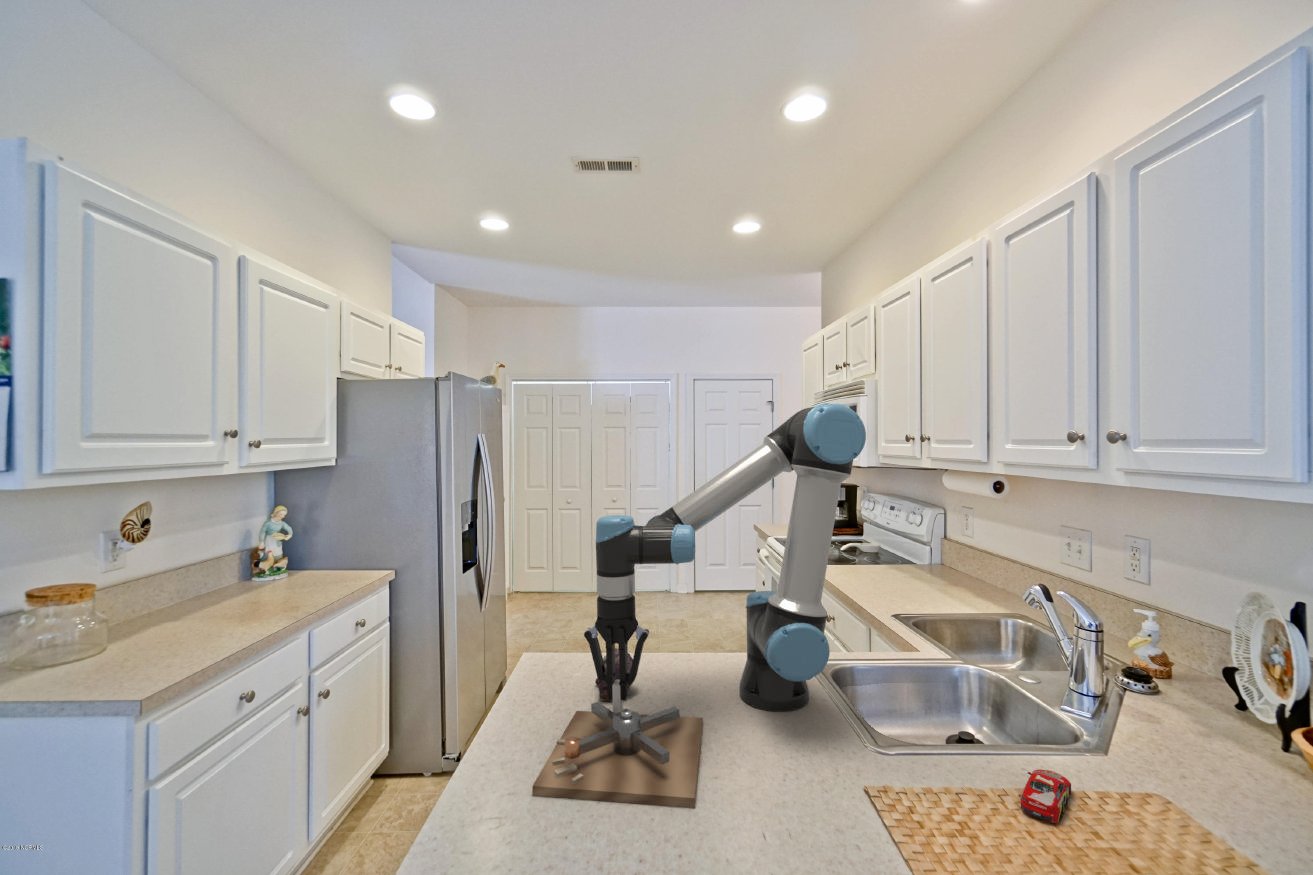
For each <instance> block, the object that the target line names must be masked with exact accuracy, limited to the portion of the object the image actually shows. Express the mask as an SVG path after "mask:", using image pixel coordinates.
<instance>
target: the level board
mask: <svg viewBox="0 0 1313 875" xmlns="http://www.w3.org/2000/svg"><path fill="white" fill-rule="evenodd" d="M639 714H640V716H641V718H643V717H646V716H649V715H650V714H641V713H639ZM703 728H704V717H693V716H680V718H678V719H675V720H673V721H670V722H667V723H665V724H662V725H659V726H656V727H654V728H651V729H648V730H646V731H643V732H642V733H644V734H645V735H646V736H648V737H649V738H651V739H652V740H653V741H655V742H656V743H658V744H659V745H661V746H662V747H663V748H665V749H666V750H668V751H669V762H667V763H665V764H663V765H661V764H660V763H659V762H657V761H656V760H655V759H653V758H652V757H651V756H649V755H648V754H647V753H645V752H644V751H643V750H640V751H639V752H638V753H636V754H634V755H629V756H623V755H619V754H617V753H615V752H614V750H613V743H611V744H608V745H605V746H602V747H600V748H597V749H594V750H592V751H589V752H586V753H583V754H581V755H580V756H579V757H577V758H575V759H568V758H566V757H565V739H566V738H568V737H572V736H575V737H579V738H580V739H583V738H586V737H589V736H592V735H595V734H597V733H600V732H603V731H606V730H609V729H612V727H611V726H609V725H608V724H607V723H605V722H604V721H603V720H601V719H600V718H599V717H597V716H596V715H595V714H593V713H592V712H591V711H588V710H587V711H586V710H575V713H574V715H573V716H572V718H571V719H570V721H569V723H568V724H567V726H566V728H565V730H564V731H563V733H562V734H561V736H560V738H558V739H557V740H556V745H555V747H554V749H553V751H551V754H550V755H549V757H548V759H547V760H546V761H545V764H544V766H543V767H542V768H541V771H540V772H539V774H538V776H537V777H536V779H535V781H534V782H533V784H532V786H531V788H532V789H531V793H532V796H535V797H537V796H538V797H549V798H550V797H551V798H562V799H572V800H573V799H574V800H575V799H576V800H588V801H589V800H590V801H600V802H601V801H602V802H611V803H612V802H615V803H627V804H640V805H652V806H667V807H676V808H677V807H679V808H692V809H695V808H696V799H697V787H698V778H699V768H700V759H701V748H702V739H703Z"/></svg>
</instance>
